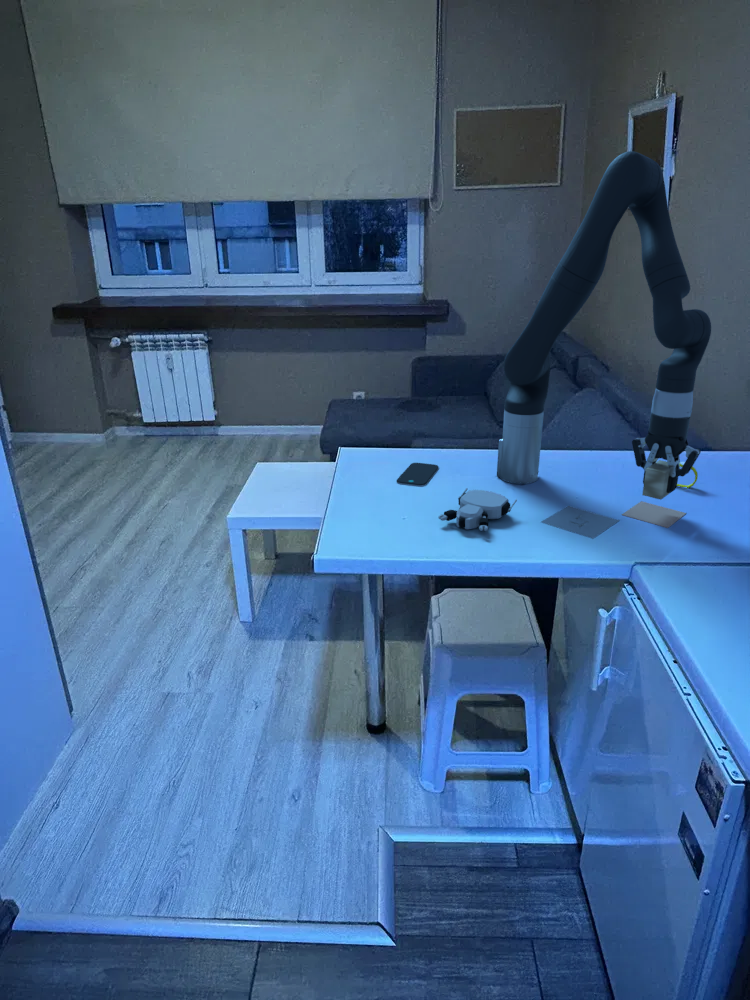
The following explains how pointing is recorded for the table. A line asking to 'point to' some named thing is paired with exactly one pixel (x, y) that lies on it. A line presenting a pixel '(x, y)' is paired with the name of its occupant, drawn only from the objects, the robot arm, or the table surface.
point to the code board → (580, 521)
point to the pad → (654, 514)
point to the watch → (694, 473)
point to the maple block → (656, 480)
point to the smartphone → (417, 474)
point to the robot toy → (478, 509)
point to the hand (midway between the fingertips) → (659, 489)
